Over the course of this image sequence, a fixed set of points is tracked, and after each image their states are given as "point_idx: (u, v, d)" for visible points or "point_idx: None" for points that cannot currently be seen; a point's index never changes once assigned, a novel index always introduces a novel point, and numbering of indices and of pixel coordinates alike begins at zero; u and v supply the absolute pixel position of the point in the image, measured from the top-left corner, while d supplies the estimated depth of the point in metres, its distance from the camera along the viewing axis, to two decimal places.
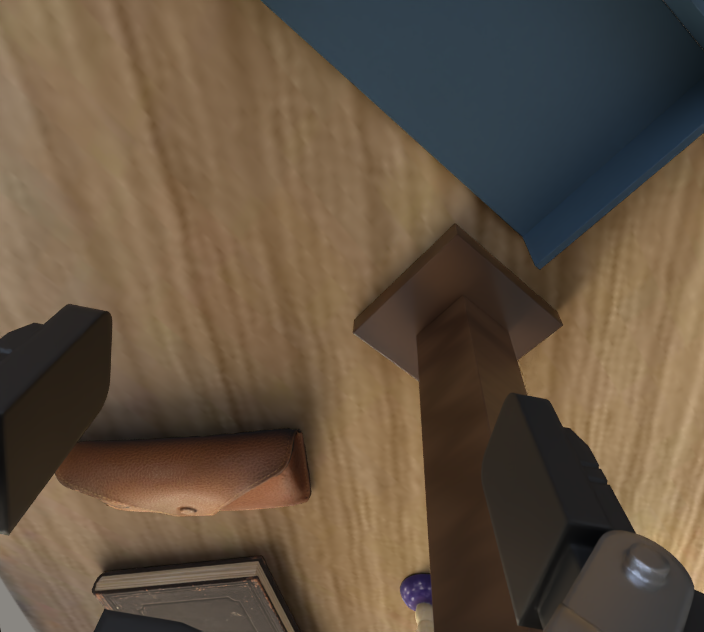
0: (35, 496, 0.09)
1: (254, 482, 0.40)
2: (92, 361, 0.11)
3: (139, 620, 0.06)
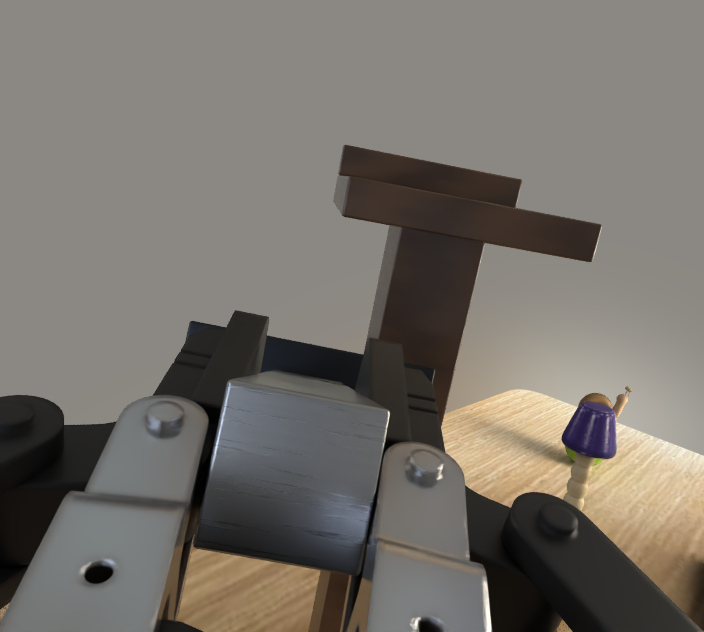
0: None
1: None
2: (258, 362, 0.12)
3: None
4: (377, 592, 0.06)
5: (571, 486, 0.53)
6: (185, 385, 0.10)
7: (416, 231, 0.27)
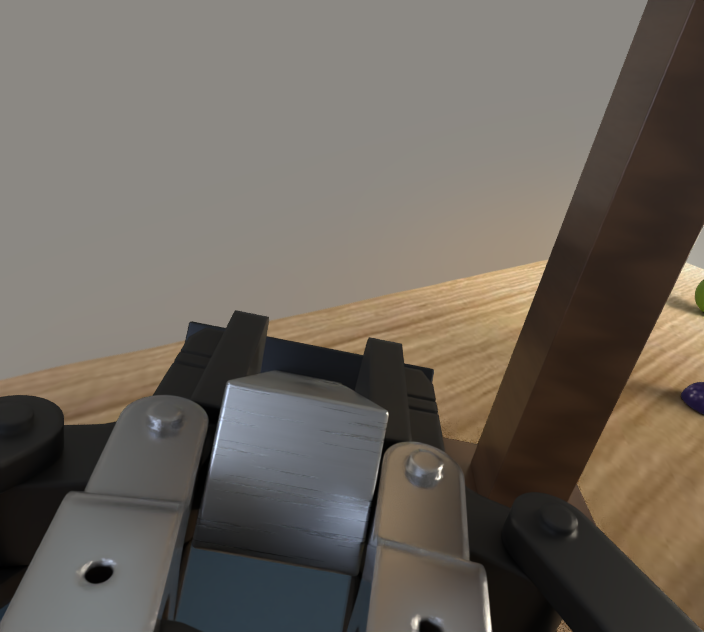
0: None
1: None
2: (258, 362, 0.12)
3: None
4: (377, 592, 0.06)
5: None
6: (185, 385, 0.10)
7: None
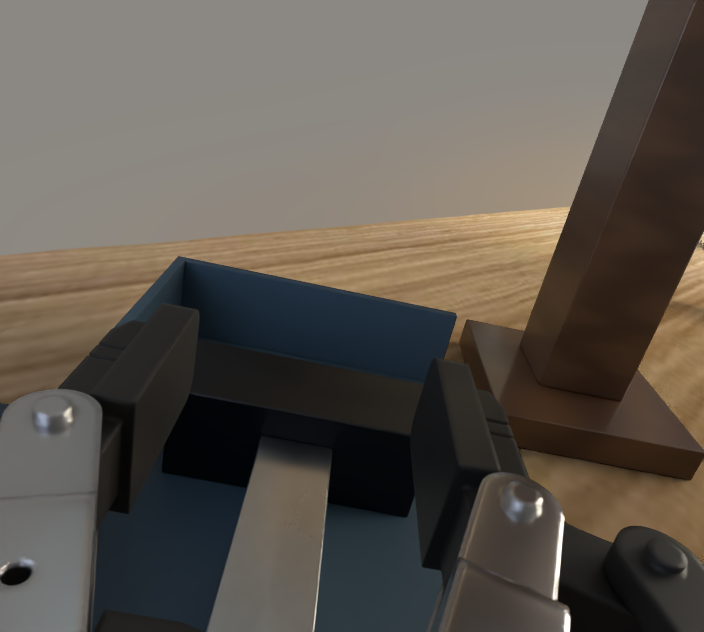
0: (145, 479, 0.10)
1: None
2: (186, 356, 0.12)
3: (139, 620, 0.06)
4: (452, 608, 0.06)
5: None
6: (95, 379, 0.10)
7: None
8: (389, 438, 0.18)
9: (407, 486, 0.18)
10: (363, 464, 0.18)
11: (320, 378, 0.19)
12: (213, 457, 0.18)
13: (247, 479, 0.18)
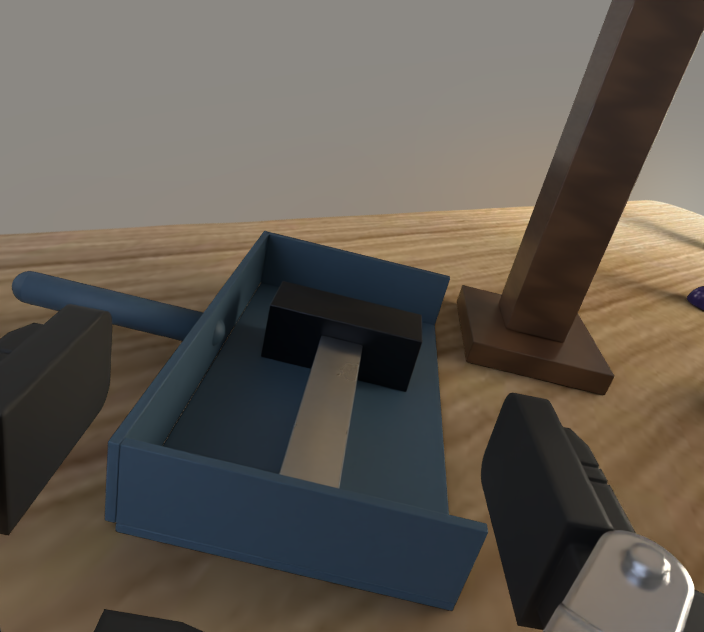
0: (35, 496, 0.09)
1: None
2: (93, 361, 0.11)
3: (139, 620, 0.06)
4: None
5: None
6: None
7: None
8: (396, 339, 0.30)
9: (406, 371, 0.31)
10: (380, 356, 0.30)
11: (356, 306, 0.32)
12: (292, 348, 0.31)
13: (311, 363, 0.31)
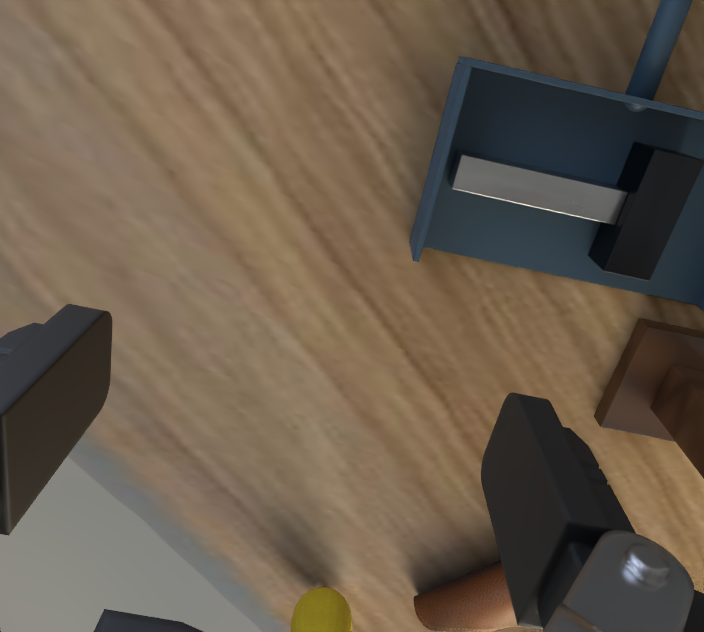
0: (35, 496, 0.09)
1: None
2: (93, 361, 0.11)
3: (139, 620, 0.06)
4: None
5: None
6: None
7: None
8: (609, 251, 0.38)
9: (595, 257, 0.40)
10: (606, 238, 0.39)
11: (658, 225, 0.37)
12: (629, 167, 0.38)
13: (619, 183, 0.39)
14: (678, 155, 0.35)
